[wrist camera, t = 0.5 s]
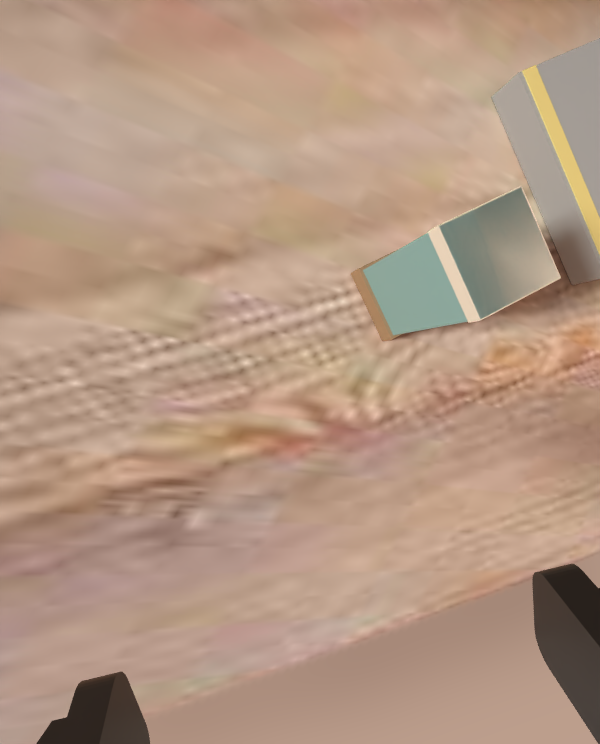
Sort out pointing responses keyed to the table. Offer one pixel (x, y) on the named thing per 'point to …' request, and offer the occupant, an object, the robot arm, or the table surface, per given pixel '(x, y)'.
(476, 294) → the teal tall block
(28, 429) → the table surface
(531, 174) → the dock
